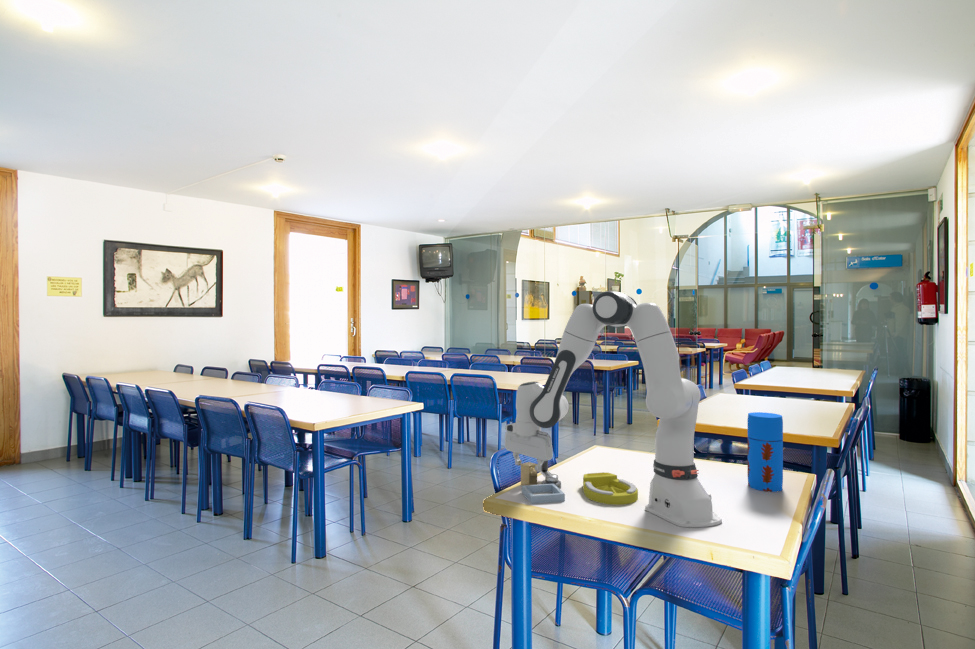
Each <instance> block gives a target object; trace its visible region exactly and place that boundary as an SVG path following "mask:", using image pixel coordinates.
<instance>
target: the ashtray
mask: <svg viewBox="0 0 975 649" xmlns="http://www.w3.org/2000/svg"><path fill="white" fill-rule="evenodd" d="M582 477H583V478H582V485H583V486H582V488H583V489H582V490H583V493H584V495H585V497H586V498H587V499H589V500H591V501H593V502H596V503H600V504H603V503H604V505H611V504H612V506H613V505H614V506H618V505H619V506H621V505H622V506H623V505H629V504H633V503H637V501H638V499H639V488H638V487H637V486H636V485H635V484H633V483H631V482H630V481H628V480H625V479H621V478H619V479H618V475H617V474H615V473H611V472H591V473H584V474H583V476H582Z"/></svg>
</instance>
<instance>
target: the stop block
mask: <svg viewBox="0 0 975 649" xmlns="http://www.w3.org/2000/svg"><path fill="white" fill-rule="evenodd" d="M521 463H522V462H521ZM537 464H538V463H534V462H532V461H531V462H530V461H527V462H523V463H522V464H521V465H520V485H521V486H524V485H538V472H537V471H535V466H537Z"/></svg>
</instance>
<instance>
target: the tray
mask: <svg viewBox="0 0 975 649" xmlns="http://www.w3.org/2000/svg"><path fill="white" fill-rule="evenodd" d="M551 492H552V493H551ZM521 493H522V495H523V496H524V497H525V498H526V499H527V501H529V503H531V504H543V503H559V502H565V501H566V494H565V492H563V491H562V490H561V489H559V488H558V487H557V486H556V485H555V484H542V483H541V484H540V483H539V484H537V485H524V486H523V485H521ZM533 493H534V494H533ZM536 493H544V494H536Z"/></svg>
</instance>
